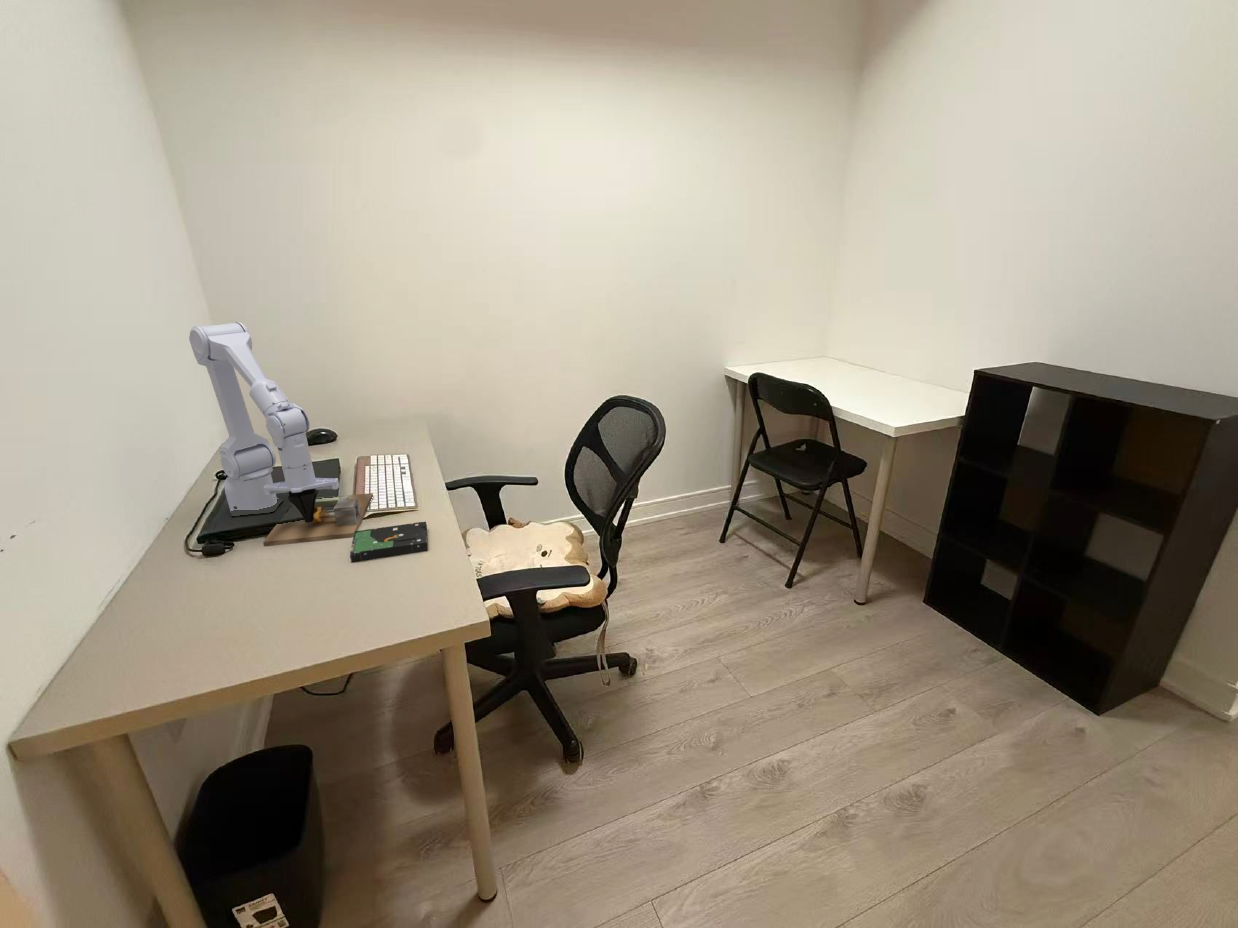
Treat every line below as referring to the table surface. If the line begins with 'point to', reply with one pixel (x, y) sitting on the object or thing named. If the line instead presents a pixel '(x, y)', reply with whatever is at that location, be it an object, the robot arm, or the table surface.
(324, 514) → the pin
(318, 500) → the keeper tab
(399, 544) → the disk drive
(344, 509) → the board
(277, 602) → the table surface
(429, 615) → the table surface
